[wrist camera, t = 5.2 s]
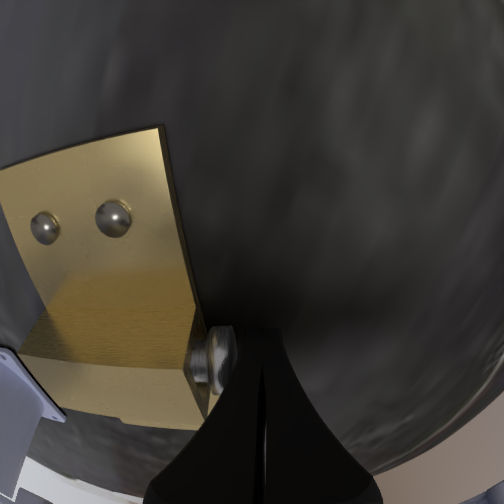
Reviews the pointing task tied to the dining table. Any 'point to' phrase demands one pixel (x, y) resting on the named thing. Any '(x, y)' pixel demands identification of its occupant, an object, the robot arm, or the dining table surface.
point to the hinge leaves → (109, 280)
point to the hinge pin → (215, 358)
